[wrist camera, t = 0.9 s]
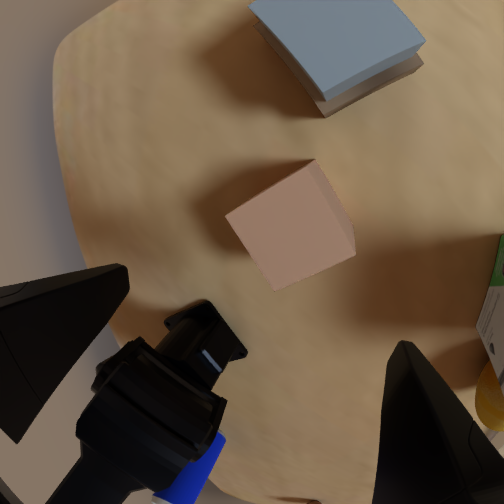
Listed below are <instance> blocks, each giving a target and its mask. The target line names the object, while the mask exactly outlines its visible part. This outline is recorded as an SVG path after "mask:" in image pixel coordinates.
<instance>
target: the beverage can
mask: <svg viewBox="0 0 504 504" xmlns="http://www.w3.org/2000/svg"><path fill="white" fill-rule="evenodd" d="M225 442H226V439H225V435H224V434H223V433H222V432H221V431H220V430H219V429H218V432H217V435H216V437H215V439H214V441H213V443H212V444H211V446H210V447H209V449H208V450H207V452H206V453H205V454H204V455H203V456H202V457H201V458H200V459H199V460H197V461H196V462H194V463H191V462H190V461H189V463H188V464H187V465H186V466H185V467H184V468H183V470H182V471H181V472H180V473H179V475H178V476H177V477H176V479H175V480H174V482H173V483H172V484H171V486H170V487H169V488H167V489H164V490H162V491H160V492H154V494H153V495H152V500H151V502H152V503H154V504H194V503H195V501H196V499H197V497H198V495H199V493H200V491H201V490H202V488H203V486H204V484H205V482H206V480H207V478H208V476H209V474H210V472H211V470H212V468H213V466H214V464H215V462H216V460H217V458H218V456H219V454H220V452H221V450H222V448H223V446H224V444H225Z"/></svg>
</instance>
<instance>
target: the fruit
mask: <svg viewBox="0 0 504 504" xmlns="http://www.w3.org/2000/svg"><path fill="white" fill-rule="evenodd" d="M475 408H476V412H477V415H478V417H479V419H480V421H481V422H482V423H483V424H484V425H485V426H486V427H488V428H489V429H492V430H494V431H504V396H503V393H502V390H501V387H500V384H499V381H498V378H497V376H496V373H495V370H494V368H493V365H492V363H491V360H489V361H488V362H487V364H486V365H485V367H484V368H483V370H482V372H481V374H480V376H479V379H478V383H477V388H476V395H475Z"/></svg>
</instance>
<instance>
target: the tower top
mask: <svg viewBox="0 0 504 504" xmlns="http://www.w3.org/2000/svg"><path fill="white" fill-rule="evenodd" d="M248 7H249V9H250V10H251V11H252V12H253V13H254V14H255V15H256V17H257V18H258V19H259V20H260V21H261V22H262V24H263V25H264V26H265V27H266V28H267V29H268V30H269V31H270V32H271V33H272V35H273V36H274V37H275V38H276V39H277V40H278V41H279V42H280V43H281V45H282V46H283V47H284V48H285V49H286V50H287V51H288V53H289V54H290V55H291V56H292V57H293V59H294V60H295V61H296V62H297V63H298V65H299V66H300V67H301V68H302V70H303V71H304V72H305V73H306V75H307V76H308V77H309V79H310V80H311V81H312V82H313V84H314V85H315V86H316V88H317V89H318V90H319V92H320V93H321V95H322V96H323V97H324V99H325V100H326V102H327V101H328V100H330V99H332V98H334V97H335V96H337V95H339V94H341V93H342V92H344V91H346V90H348V89H350V88H351V87H353V86H355V85H357V84H359V83H361V82H362V81H364V80H366V79H368V78H370V77H372V76H374V75H376V74H378V73H380V72H382V71H384V70H386V69H388V68H390V67H392V66H394V65H396V64H398V63H400V62H402V61H404V60H406V59H408V58H411V57H413V55H414V54H415V53H416V52H417V51H418V50H419V49H420V47H421V46H422V45H423V44H424V43H425V42H426V40H425V38H424V37H423V36H422V34H421V33H420V32H419V31H418V29H417V28H416V27H415V26H414V25H413V23H412V22H411V21H410V20H409V19H408V17H407V16H406V15H405V14H404V13H403V12H402V11H401V9H400V8H399V7H398V6H397V5H396V4H395V3H394V2H393V1H392V0H256V1H255V2H253V3H251V4H250V5H248Z"/></svg>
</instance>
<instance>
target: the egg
mask: <svg viewBox="0 0 504 504" xmlns="http://www.w3.org/2000/svg"><path fill="white" fill-rule="evenodd" d="M307 504H321V503H320V502H319V501H312V502H309V503H307Z"/></svg>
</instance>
